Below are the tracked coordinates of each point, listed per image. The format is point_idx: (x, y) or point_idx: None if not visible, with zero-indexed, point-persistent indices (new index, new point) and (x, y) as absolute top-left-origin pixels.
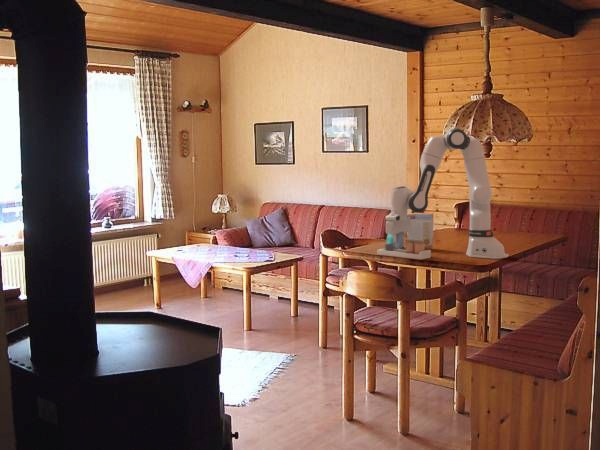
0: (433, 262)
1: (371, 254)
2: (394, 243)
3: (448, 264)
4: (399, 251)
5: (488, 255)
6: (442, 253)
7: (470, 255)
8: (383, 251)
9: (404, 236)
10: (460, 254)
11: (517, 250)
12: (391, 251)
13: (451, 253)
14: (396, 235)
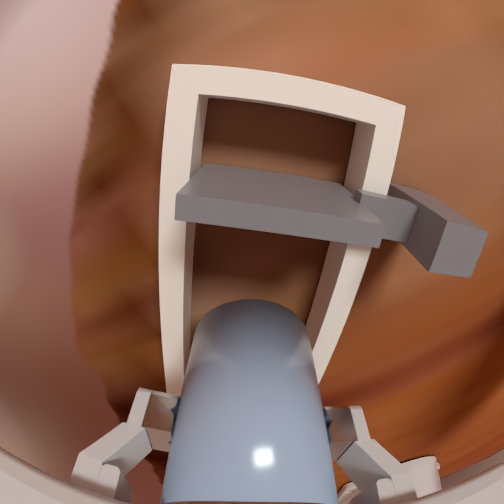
0: (155, 460)
1: (152, 29)
2: (194, 360)
3: (159, 480)
4: (328, 285)
5: (347, 501)
6: (423, 419)
7: (345, 488)
8: (164, 167)
9: (350, 472)
10: (403, 454)
11: (476, 459)
12: (162, 281)
13: (426, 433)
14: (131, 490)
